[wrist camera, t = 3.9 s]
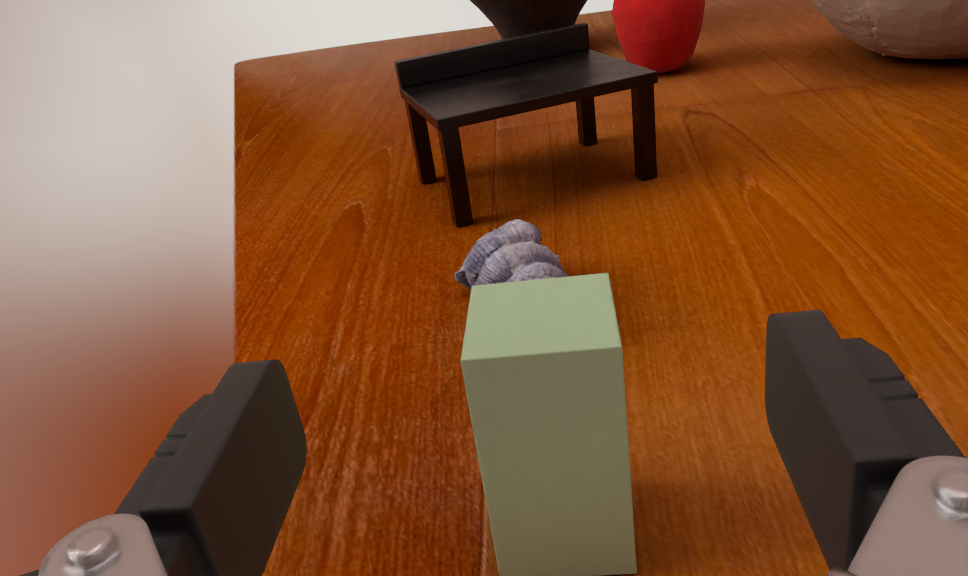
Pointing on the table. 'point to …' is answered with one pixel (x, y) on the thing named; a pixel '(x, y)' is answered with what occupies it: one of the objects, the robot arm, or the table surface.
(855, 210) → the table surface
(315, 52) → the table surface
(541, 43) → the bench
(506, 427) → the block
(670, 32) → the apple
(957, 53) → the bowl
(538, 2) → the jug
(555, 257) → the seashell
